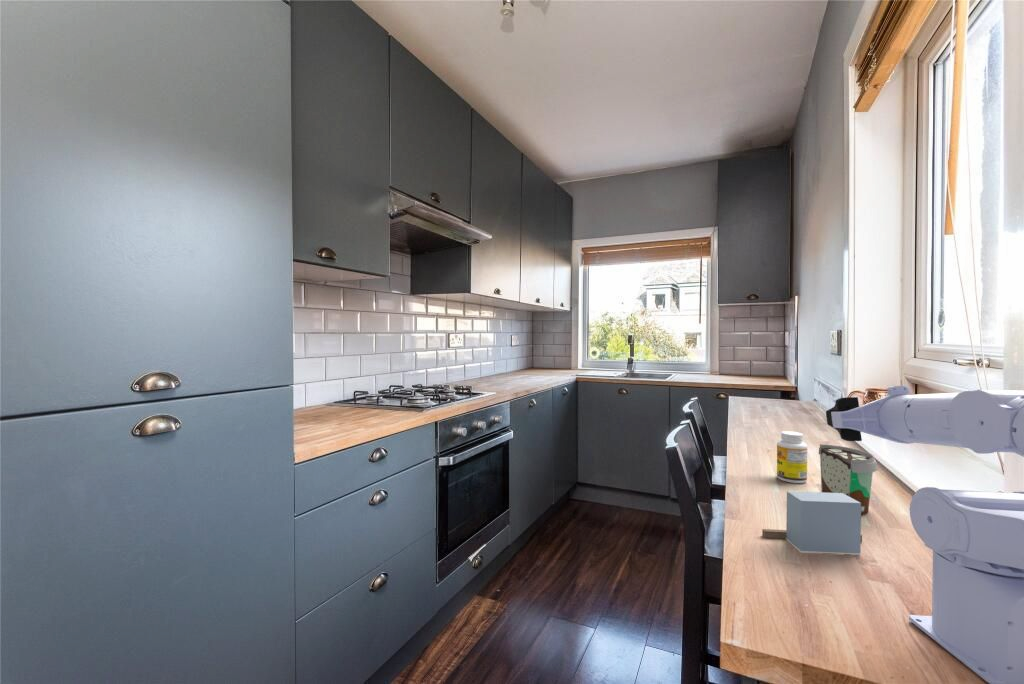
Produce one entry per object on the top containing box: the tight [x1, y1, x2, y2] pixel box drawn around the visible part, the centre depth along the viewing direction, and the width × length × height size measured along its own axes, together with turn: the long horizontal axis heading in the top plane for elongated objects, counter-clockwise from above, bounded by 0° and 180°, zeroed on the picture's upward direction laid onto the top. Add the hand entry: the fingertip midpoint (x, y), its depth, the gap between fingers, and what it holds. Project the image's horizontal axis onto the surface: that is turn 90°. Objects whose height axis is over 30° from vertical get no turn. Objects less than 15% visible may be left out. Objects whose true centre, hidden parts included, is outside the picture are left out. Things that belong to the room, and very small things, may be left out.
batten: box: [761, 528, 863, 543], centre depth 68 cm, size 1×14×1 cm, turn 85°
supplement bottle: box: [776, 430, 808, 484], centre depth 96 cm, size 6×6×10 cm
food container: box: [818, 443, 879, 517], centre depth 81 cm, size 12×6×10 cm, turn 168°
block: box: [785, 490, 862, 556], centre depth 65 cm, size 4×8×8 cm, turn 85°
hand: (858, 417), depth 64 cm, fingers open, 7 cm apart
